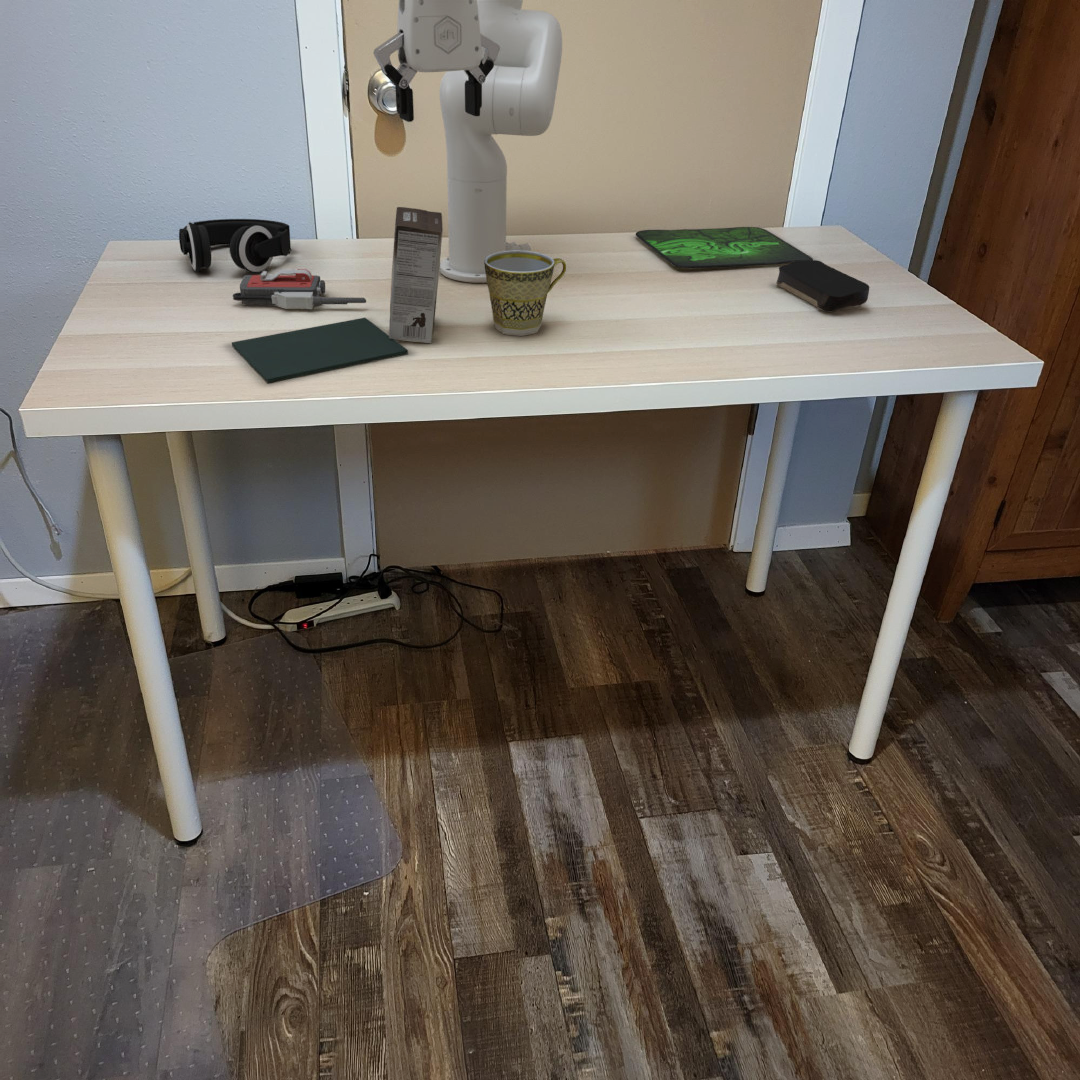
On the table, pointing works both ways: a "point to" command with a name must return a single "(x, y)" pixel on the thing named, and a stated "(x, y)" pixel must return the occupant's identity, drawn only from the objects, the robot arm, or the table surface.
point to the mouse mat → (721, 247)
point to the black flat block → (822, 285)
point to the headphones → (236, 242)
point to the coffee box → (415, 274)
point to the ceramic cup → (519, 289)
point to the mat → (317, 349)
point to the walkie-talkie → (287, 290)
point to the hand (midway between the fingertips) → (440, 117)
